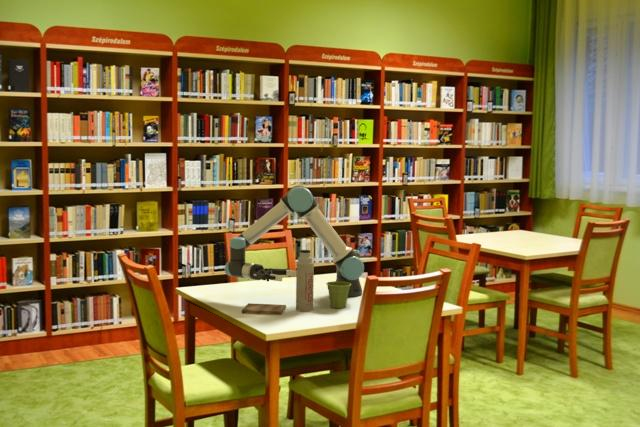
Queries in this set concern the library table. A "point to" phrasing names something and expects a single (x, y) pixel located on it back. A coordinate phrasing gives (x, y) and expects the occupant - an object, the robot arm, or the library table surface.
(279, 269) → the robot arm
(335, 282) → the plant pot
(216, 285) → the library table surface
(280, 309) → the walnut board
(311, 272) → the thermos bottle
